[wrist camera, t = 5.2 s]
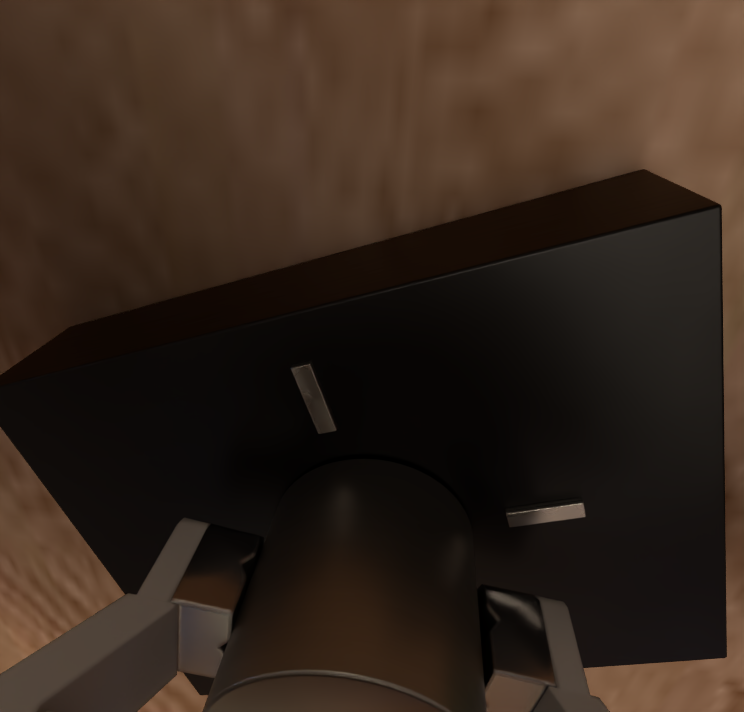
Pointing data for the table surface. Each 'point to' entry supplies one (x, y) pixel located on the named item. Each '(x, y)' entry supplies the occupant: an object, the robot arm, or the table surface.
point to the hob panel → (433, 405)
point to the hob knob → (359, 600)
